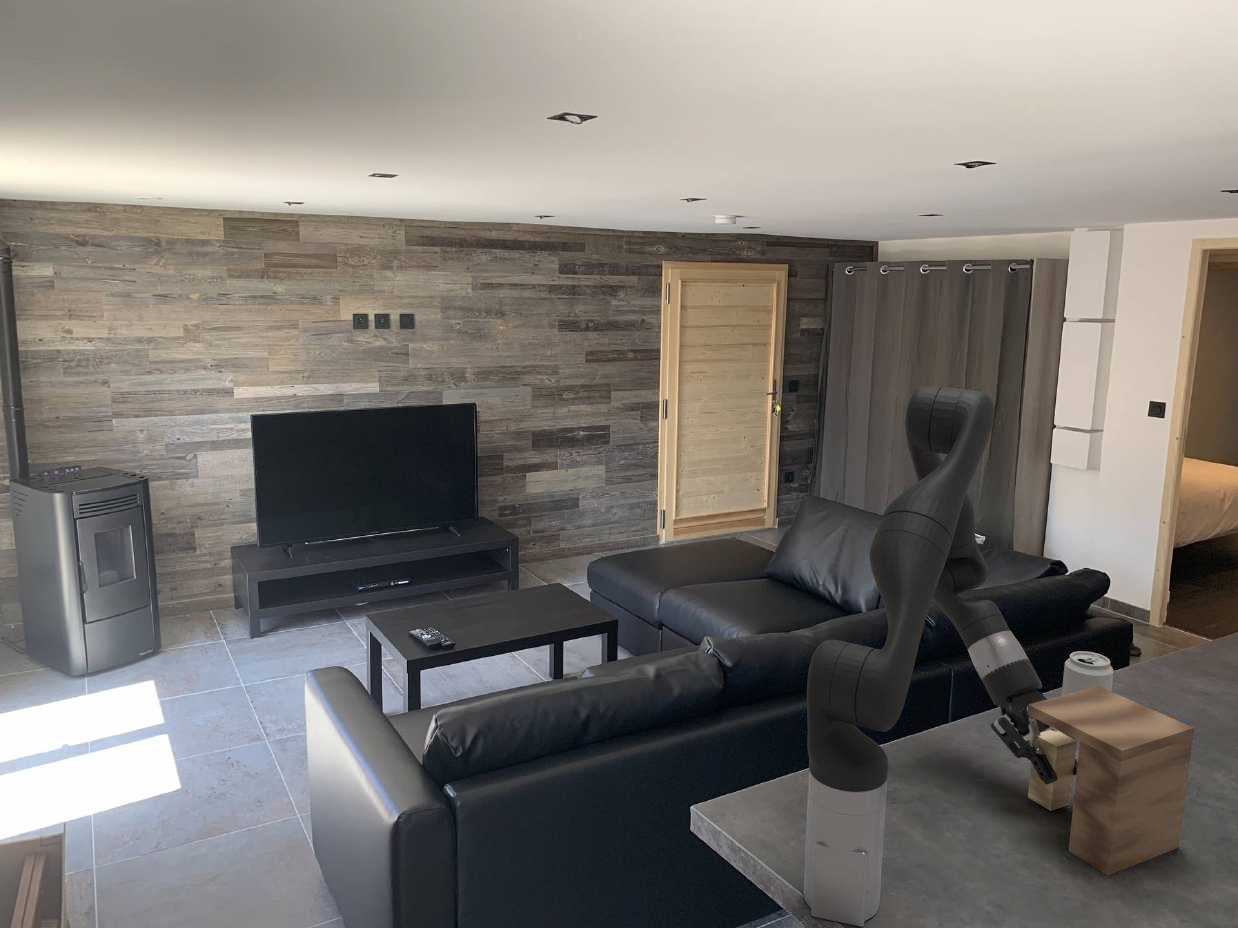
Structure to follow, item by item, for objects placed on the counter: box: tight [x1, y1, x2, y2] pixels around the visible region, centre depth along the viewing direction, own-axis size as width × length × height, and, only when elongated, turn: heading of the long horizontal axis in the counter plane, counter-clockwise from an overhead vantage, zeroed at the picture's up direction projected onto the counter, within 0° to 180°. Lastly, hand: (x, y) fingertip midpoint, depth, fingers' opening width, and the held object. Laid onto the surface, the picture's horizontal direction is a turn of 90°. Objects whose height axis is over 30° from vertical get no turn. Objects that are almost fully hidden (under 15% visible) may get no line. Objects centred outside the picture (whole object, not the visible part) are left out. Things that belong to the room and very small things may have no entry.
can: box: [1061, 650, 1114, 696], centre depth 166 cm, size 8×8×12 cm
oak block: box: [1027, 728, 1078, 812], centre depth 140 cm, size 4×4×10 cm
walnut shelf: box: [1028, 686, 1195, 876], centre depth 133 cm, size 14×14×18 cm
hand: (1063, 777), depth 139 cm, fingers closed on oak block, 4 cm apart
